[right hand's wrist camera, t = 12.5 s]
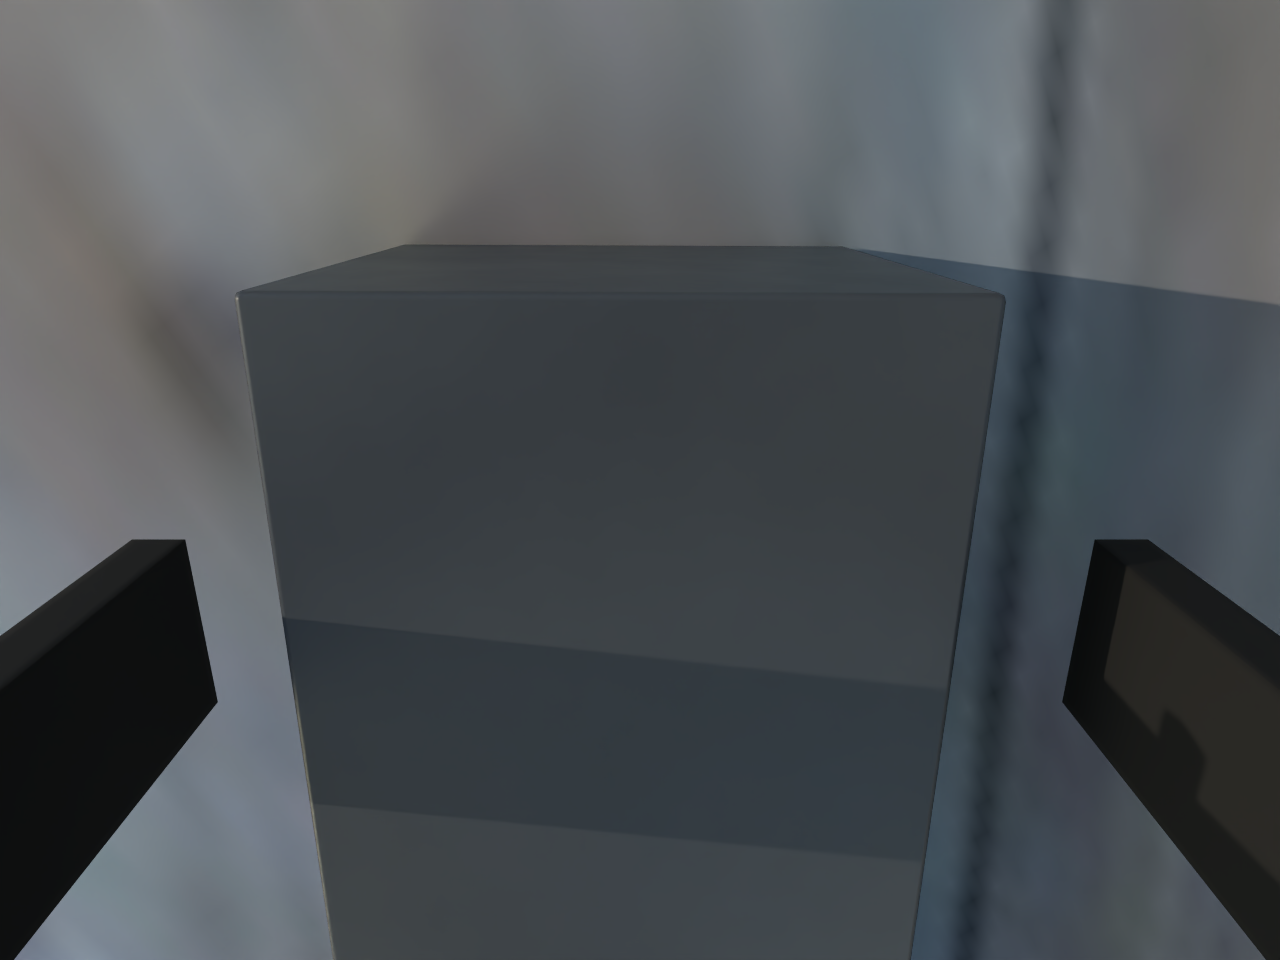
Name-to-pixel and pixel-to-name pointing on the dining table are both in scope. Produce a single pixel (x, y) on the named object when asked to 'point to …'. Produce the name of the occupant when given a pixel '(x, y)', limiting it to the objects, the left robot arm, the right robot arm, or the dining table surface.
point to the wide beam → (620, 590)
